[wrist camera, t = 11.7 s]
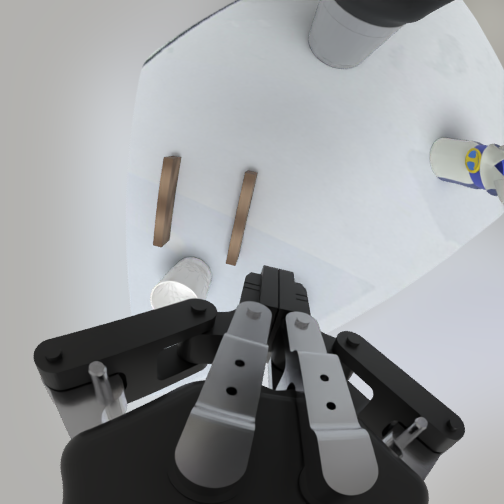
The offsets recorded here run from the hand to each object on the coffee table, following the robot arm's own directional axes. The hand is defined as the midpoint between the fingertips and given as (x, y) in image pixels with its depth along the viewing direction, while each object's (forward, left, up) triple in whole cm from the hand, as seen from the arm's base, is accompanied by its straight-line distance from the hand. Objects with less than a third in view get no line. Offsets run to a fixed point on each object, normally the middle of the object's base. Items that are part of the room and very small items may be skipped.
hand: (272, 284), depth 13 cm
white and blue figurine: (-14, +27, -29) cm, 42 cm away
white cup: (+17, -10, -29) cm, 35 cm away
